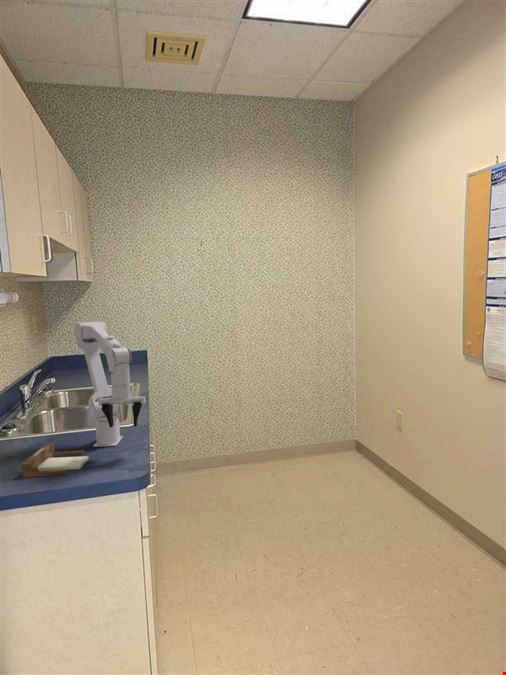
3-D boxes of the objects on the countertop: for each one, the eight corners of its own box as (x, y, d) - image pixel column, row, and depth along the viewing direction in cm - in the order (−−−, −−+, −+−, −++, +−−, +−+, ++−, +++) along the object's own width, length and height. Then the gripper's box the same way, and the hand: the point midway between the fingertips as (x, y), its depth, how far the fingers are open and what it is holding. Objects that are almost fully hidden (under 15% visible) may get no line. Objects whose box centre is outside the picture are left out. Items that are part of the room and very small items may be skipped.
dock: (47, 455, 143) (46, 442, 142) (84, 453, 143) (83, 440, 143) (22, 477, 125) (21, 462, 125) (64, 474, 126) (63, 460, 126)
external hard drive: (49, 462, 138) (88, 460, 138) (37, 472, 130) (79, 470, 130) (48, 457, 138) (88, 455, 138) (37, 467, 129) (79, 465, 130)
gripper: (94, 388, 135) (97, 430, 136) (141, 386, 135) (143, 428, 137) (100, 383, 142) (103, 424, 143) (145, 381, 142) (148, 422, 144)
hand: (123, 426), depth 140 cm, fingers open, 7 cm apart
